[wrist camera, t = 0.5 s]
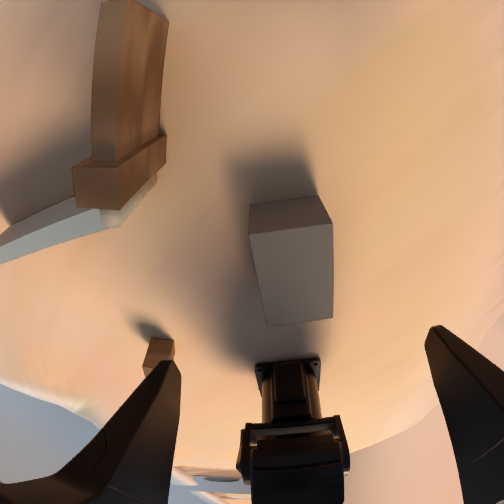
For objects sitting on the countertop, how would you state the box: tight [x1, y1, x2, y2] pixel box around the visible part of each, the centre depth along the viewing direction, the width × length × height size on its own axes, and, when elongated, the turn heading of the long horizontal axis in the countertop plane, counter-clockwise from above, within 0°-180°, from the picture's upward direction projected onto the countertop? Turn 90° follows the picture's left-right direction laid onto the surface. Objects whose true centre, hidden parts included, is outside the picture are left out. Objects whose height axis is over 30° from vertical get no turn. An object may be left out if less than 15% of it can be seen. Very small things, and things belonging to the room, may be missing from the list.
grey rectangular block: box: [249, 196, 334, 327], centre depth 18 cm, size 7×4×4 cm, turn 9°
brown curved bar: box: [72, 0, 175, 377], centre depth 16 cm, size 27×2×7 cm, turn 173°
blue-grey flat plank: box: [0, 174, 157, 264], centre depth 16 cm, size 16×1×6 cm, turn 103°
